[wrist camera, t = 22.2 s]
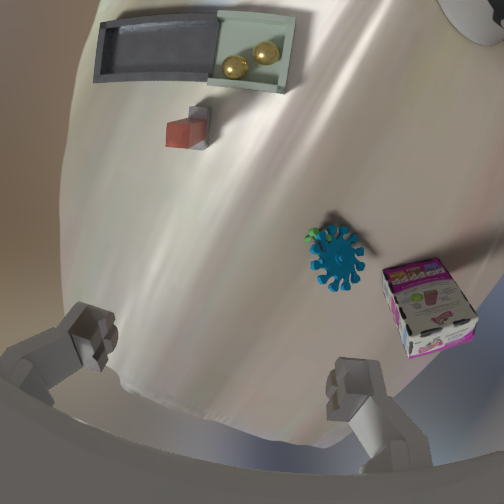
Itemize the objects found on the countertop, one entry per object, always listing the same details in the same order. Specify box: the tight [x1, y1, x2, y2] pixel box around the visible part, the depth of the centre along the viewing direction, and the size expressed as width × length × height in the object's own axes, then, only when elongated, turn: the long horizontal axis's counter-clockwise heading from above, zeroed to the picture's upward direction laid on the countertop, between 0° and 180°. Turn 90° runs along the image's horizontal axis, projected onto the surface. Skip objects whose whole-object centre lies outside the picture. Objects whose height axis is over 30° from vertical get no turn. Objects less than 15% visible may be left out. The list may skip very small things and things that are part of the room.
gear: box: [304, 225, 365, 292], centre depth 45 cm, size 11×6×10 cm
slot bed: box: [93, 13, 221, 83], centre depth 33 cm, size 10×18×3 cm, turn 83°
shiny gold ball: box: [253, 41, 280, 66], centre depth 32 cm, size 4×4×4 cm
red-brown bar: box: [166, 106, 212, 150], centre depth 36 cm, size 6×3×10 cm, turn 173°
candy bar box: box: [382, 258, 478, 359], centre depth 41 cm, size 11×5×16 cm, turn 106°
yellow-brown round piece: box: [221, 55, 249, 79], centre depth 34 cm, size 4×4×4 cm
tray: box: [207, 10, 296, 94], centre depth 33 cm, size 11×10×3 cm
